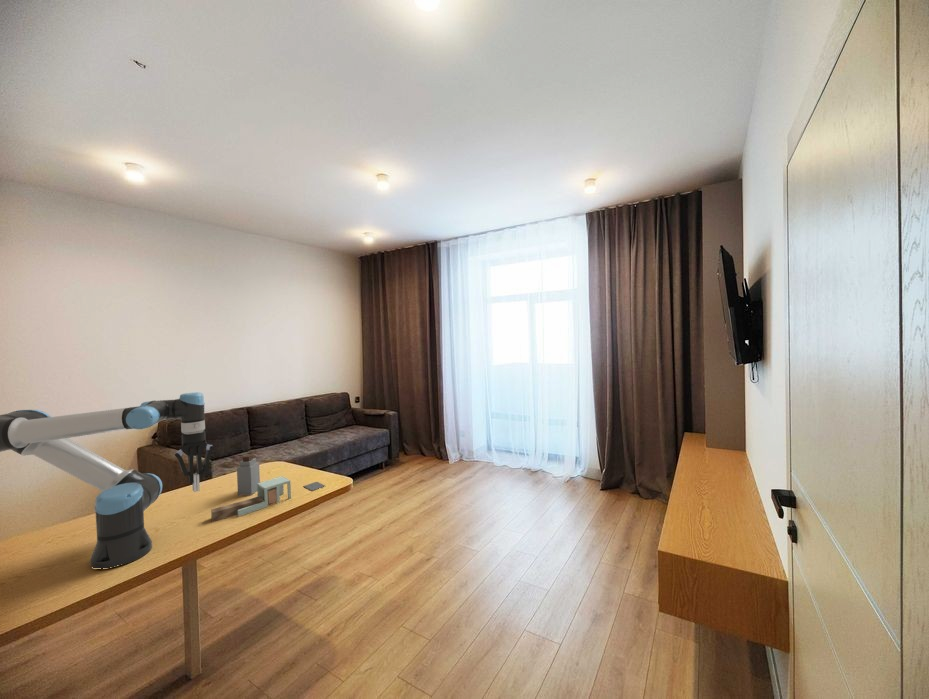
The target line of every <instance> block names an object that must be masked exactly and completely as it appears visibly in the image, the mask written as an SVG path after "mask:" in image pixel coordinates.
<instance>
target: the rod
mask: <svg viewBox="0 0 929 699" xmlns="http://www.w3.org/2000/svg"><path fill="white" fill-rule="evenodd" d="M255 497H256V498H254V497H251V498H252V499H251V498H248V499H249V500H248V499H245V500H241V501H238V502H235V503H230V504H227V505H223V506H219V507H215V508H212V509H211V510H210V512H211V514H210V516H211V522H212V523H213V522H216V521H217V522H218V521H221V520H224V519H227V518H231V517H234V516H238V510H239V509H242V508H245V507H248V506H251V505H254V504H257V503H260V502H263V501H262V498H261V497H257V496H255Z"/></svg>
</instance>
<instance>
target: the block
mask: <svg viewBox="0 0 929 699" xmlns="http://www.w3.org/2000/svg"><path fill="white" fill-rule="evenodd" d="M267 494H268V505H270V504H274V503H277V501H276V487H274V488H271V489H268V490H267Z"/></svg>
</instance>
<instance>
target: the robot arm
mask: <svg viewBox="0 0 929 699" xmlns="http://www.w3.org/2000/svg"><path fill="white" fill-rule="evenodd" d="M205 416H206V415H205V400H204V394H203V393H202V392H199V391H198V392H187V393H186V392H185V393H182V394H181V393H180V395H179V398H176V399H166V400H165V399H164V400H161V399H160V400H149V401H148V400H147V401H143V402H142V403H141V404H140V405H139V406H130V407H124V408H117V409H116V408H115V409H108V410H107V409H106V410H100V411H99V410H98V411H91V412H90V411H89V412H81V413H75V414H66V415H58V416H57V415H55V416H51V415H50V414H49V413H47V412H45V411H43V410H38V409H19V410H13V411H11V412H9V413H4V414H0V452H5V451H10V450H11V451H13V452H15V453H17V454H19V455H21V456H23V457H24V456H25V457H26V456H30V455H31V456H32V455H33V456H35V457H37V458H39V459H41V460H43V461H44V462H46V463H48V464H50V465H52V466H54V467H56V468H57V469H59V470H61V471H63V472H66V473H67V474H69V475H71V476H73V477H75V478H77V479H79V480H81V481H82V482H84V483H86V484H89V485H90V486H91V487H94V488H95V489H98V490H99V491H101V492H100V493H99V494H98V495H97V496H96V498H95V504H94V511H95V527H96V543H95V546H94V549H93V553H92V554H91V557H90V560H89V561H90V568H91V567H93V568H101V569H103V568H110V567H114V566H117V565H121V564H125V565H127V564H126V563H128V564H130V563H133V562H135V561H136V560H139V559H141V558H143V557H144V556H146V555H147V554H149V552H150V551H151V550H152V548H153V544H152V538H151V537H150V535H149V533H148V531H147V530H146V528H145V514H144V512H145V511H146V509H148V508H149V507H150V506H151V505H152V504H153V503H155V501H156V500H157V499H158V498H159V497H160V495H161V494H162V491H163V482H162V480H161V478H160V477H159V476H157V475H156V474H154V473H148V472H147V473H146V472H145V473H141V472H140V471H138V470H136V469H133V468H132V469H128V470H127V469H124V468H122V467H120V466H119V465H117V464H115V463H114V462H111V461H110V460H108V459H106V458H104V457H103V456H101V455H99V454H97V453H95V452H93V451H92V450H90V449H89V448H86V447H85V446H83V445H81V444H80V443H77V441H74V440H72V439H71V438H76V437H85V436H90V435H92V436H93V435H97V434H103V433H104V434H105V433H111V432H113V433H114V432H118V431H126V430H133V429H135V430H143V429H149V428H151V427H153V426H154V425H156V424H158V423H161V422H162V421H164V420H165V421H166V420H173V419H180V427H181V429H180V430H181V446H180V447H179V448H180V449H179V450H177V451H175V452H173V456H174V457H175V458H176V459H177V462H178V464H179V467H180V471H181V474H182V475H183V476H185V477H188V482H189V483H188V484H190V485H192V491H193V492H194V493H196V492H200V491H201V490H200V489H201V488H200V482H202V481H203V474H204V472H206V471H208V469H209V466H210V465H209V464H210V460H211V456H212V452H213V450H214V448H215V446H214V445H213V444H209V443H208V442H207V439H206V437H207V436H206V431H205V430H206V421H205V420H206V419H205ZM204 450H206V452H205V455H204V461H203V459H202V457H203V456H202V453H203V452H204ZM183 454H184V455H186V456H187V466H186V464H185V462H184V459H183V457H182V456H183ZM194 457H195V459H196V461H195V462H196V472H195V473H194ZM187 467H188V468H187ZM132 561H133V562H132ZM129 562H130V563H129Z"/></svg>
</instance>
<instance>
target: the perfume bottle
mask: <svg viewBox="0 0 929 699" xmlns="http://www.w3.org/2000/svg"><path fill="white" fill-rule="evenodd" d="M236 478H237V481H236V482H237V496H252V495H254V494H256V493H258V492H257V483H260V482H261V480H260V479H261V476H260V461H259V462H257V458H254V454H245V455H243V456H242V460H241V461H238V466H237V467H236Z"/></svg>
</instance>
